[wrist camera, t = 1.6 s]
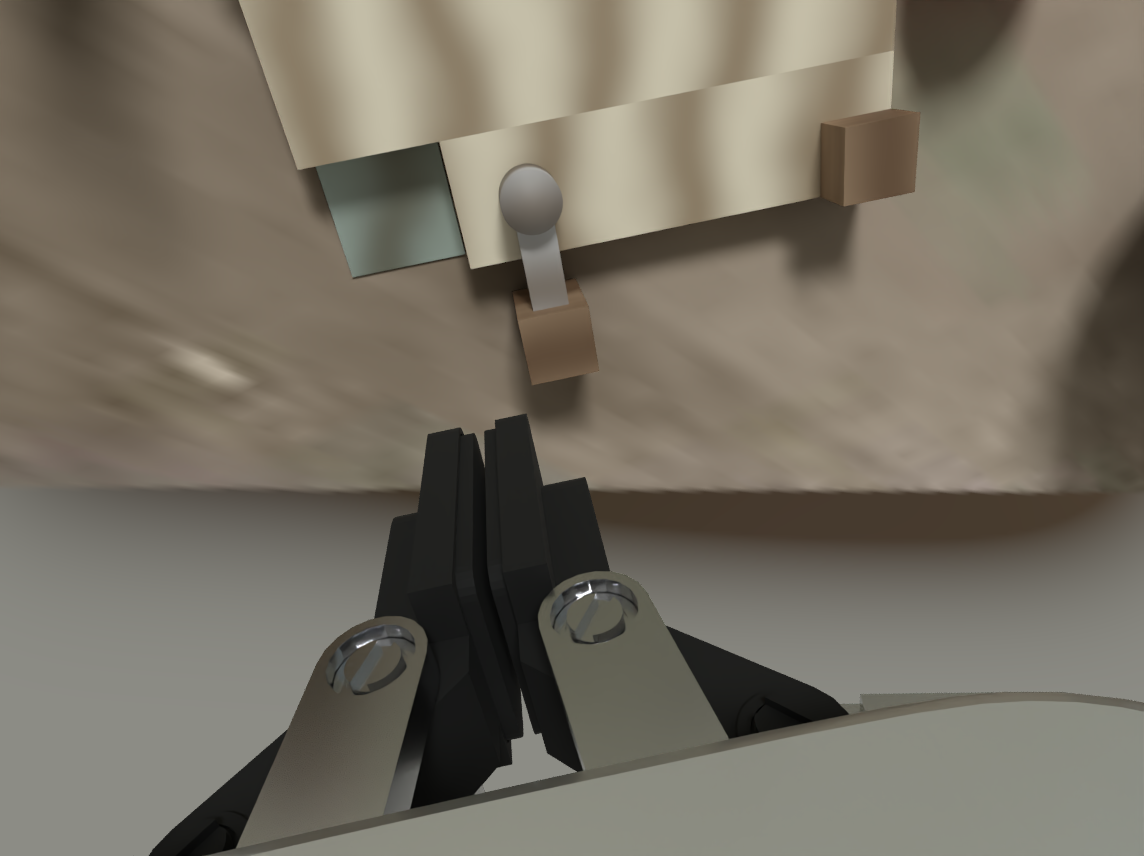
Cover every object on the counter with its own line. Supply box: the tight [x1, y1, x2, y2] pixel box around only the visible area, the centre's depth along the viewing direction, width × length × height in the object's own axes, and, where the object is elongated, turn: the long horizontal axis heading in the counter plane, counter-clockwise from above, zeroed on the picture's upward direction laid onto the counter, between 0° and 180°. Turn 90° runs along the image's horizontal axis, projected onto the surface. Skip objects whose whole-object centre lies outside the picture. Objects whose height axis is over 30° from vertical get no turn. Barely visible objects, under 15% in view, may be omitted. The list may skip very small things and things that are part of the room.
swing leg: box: [499, 163, 599, 385], centre depth 35 cm, size 10×4×5 cm, turn 10°
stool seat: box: [239, 0, 920, 277], centre depth 30 cm, size 28×20×5 cm
